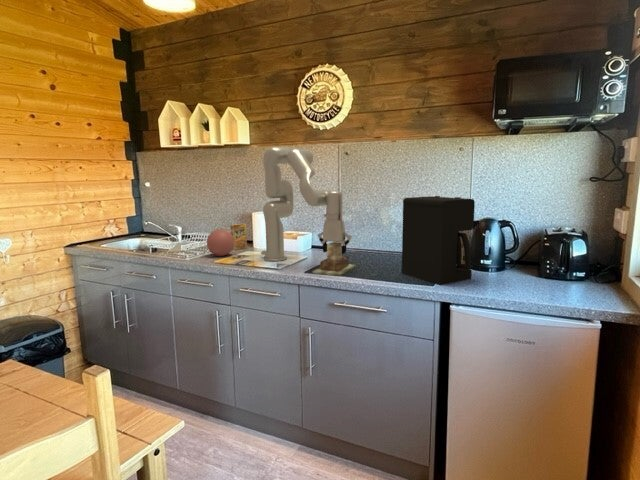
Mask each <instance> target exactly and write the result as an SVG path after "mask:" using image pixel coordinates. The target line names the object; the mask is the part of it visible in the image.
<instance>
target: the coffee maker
mask: <svg viewBox="0 0 640 480" xmlns="http://www.w3.org/2000/svg"><path fill="white" fill-rule="evenodd" d="M475 206H476V203H475V200H474V199H473V198H463V197H461V196H460V197H457V196H456V197H444V196H440V195H434V196H415V197H414V196H413V197H404V199H403V200H402V237H401V238H402V243H401V244H402V245H401V248H402V250H401V274H403V275H406V276H409V277H412V276H413V278H415V277H416V279H418V280H422V281H426V282H428V281H429V282H428V283H431V284H436V285H438V286H443V285H448V284H453V283H458V282H464V281H468V280H472V252H471V245H470V242H469V239H468V235H467V233H465V231H472V230H473V228H474V223H475V209H476V208H475ZM462 245H463V248H462ZM463 252H464V253H463ZM463 254H464V256H463ZM463 257H464V263H463ZM467 279H468V280H467Z"/></svg>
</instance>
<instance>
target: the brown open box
mask: <svg viewBox="0 0 640 480" xmlns="http://www.w3.org/2000/svg"><path fill="white" fill-rule="evenodd" d="M349 259H350V258H349V257H344V256H342V260H340V261H338V262H328V261H327V258H325V259H323V260H320V262H319V263H320V265H319V266H320V267H318V268H316V269H313V270H312V274H318V275H325V276H326V275H327V276H328V275H329V276H337V277H341V276H343V275H344V274H346V273H348V272H349V271H351V270H353V269H355V268H356V267H357V265H356V264H350V263H349Z"/></svg>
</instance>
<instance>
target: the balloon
mask: <svg viewBox="0 0 640 480" xmlns="http://www.w3.org/2000/svg"><path fill="white" fill-rule="evenodd" d="M206 238H207V239H206V247H207V250H208V251H209V252H210V253H211V254H213V255H215V256H217V257H225V256H227V255H229V254H230V253H231V252H232V251H233V250H234V249H233V248H234V244H235V241H234V237H233V235H232V234H231V231H228V230H226V229H224V228H219V229H215V230H212V232H210V233H209V235H208V236H207V237H206Z"/></svg>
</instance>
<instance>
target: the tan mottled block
mask: <svg viewBox="0 0 640 480" xmlns="http://www.w3.org/2000/svg"><path fill="white" fill-rule="evenodd" d="M342 246H343V245H342V243H341V242H333V241H331V242H330V243H327V252H326V255H327V257H326V259H327V261H328V262H338V261H340V260H342V257H343V254H342Z"/></svg>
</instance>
